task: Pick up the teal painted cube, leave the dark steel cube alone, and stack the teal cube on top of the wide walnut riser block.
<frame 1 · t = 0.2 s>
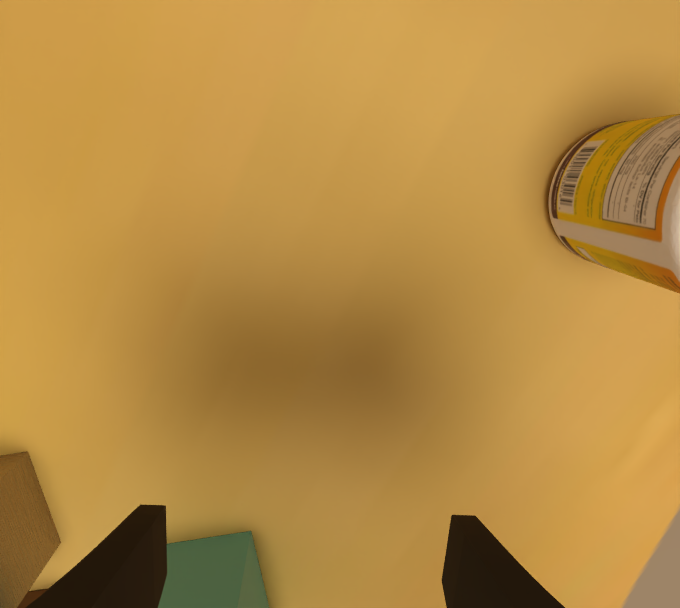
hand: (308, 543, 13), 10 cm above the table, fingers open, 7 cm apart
teal cube: (211, 578, 25), on the table
supplement bottle: (606, 193, 21), on the table
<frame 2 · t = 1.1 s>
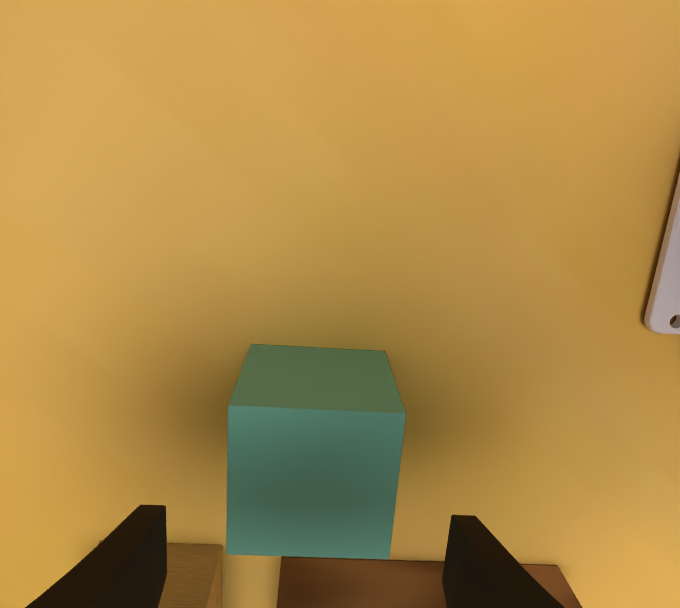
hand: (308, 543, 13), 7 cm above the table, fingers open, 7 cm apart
steel cube: (163, 589, 22), on the table
teal cube: (314, 407, 20), on the table
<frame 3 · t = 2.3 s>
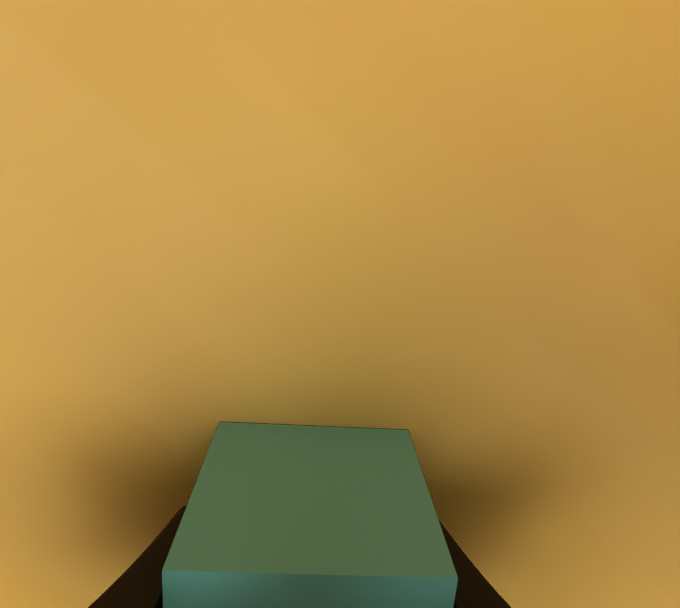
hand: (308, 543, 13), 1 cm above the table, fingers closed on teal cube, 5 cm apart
teal cube: (309, 506, 14), on the table, touching gripper
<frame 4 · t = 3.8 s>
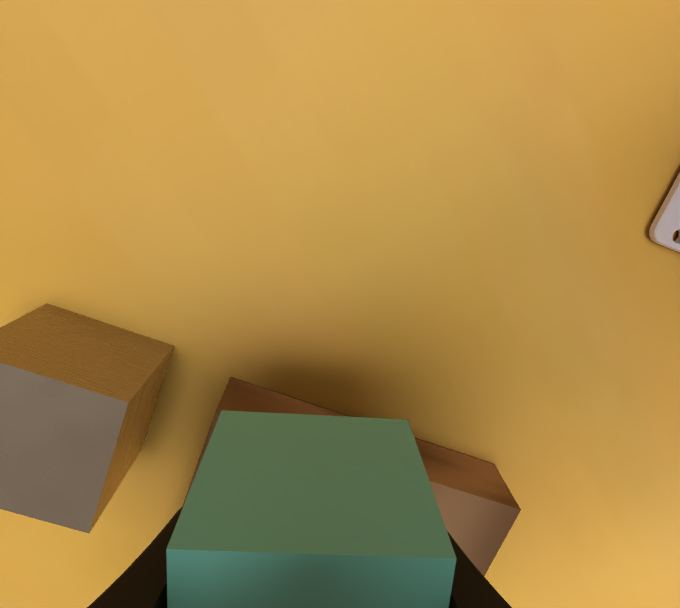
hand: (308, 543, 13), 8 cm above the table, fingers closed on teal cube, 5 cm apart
walnut riser: (317, 535, 23), on the table
steel cube: (96, 379, 20), on the table
teal cube: (310, 495, 14), point 7 cm above the table, touching gripper
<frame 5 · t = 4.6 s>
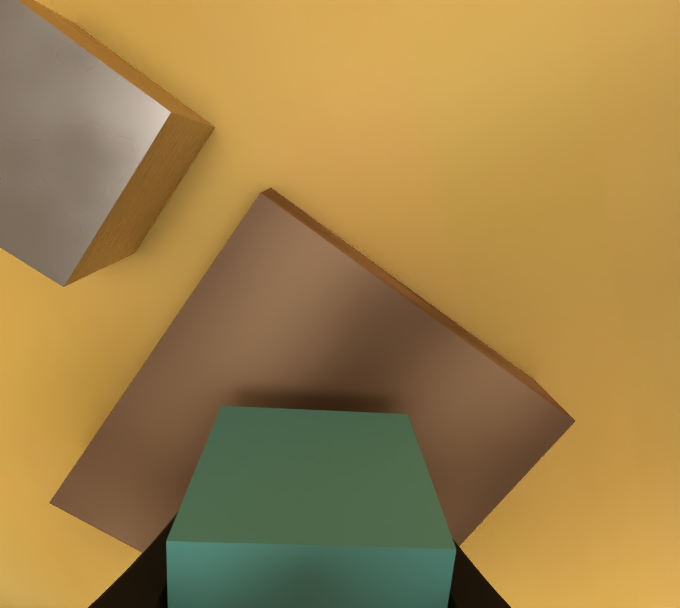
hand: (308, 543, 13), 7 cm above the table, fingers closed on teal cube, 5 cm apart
walnut riser: (313, 416, 19), on the table
steel cube: (106, 144, 16), on the table
teal cube: (310, 490, 14), point 5 cm above the table, touching gripper
when the fingers open (5 cm above the table, at t = 5.3 s): teal cube stays where it is, resting on walnut riser.
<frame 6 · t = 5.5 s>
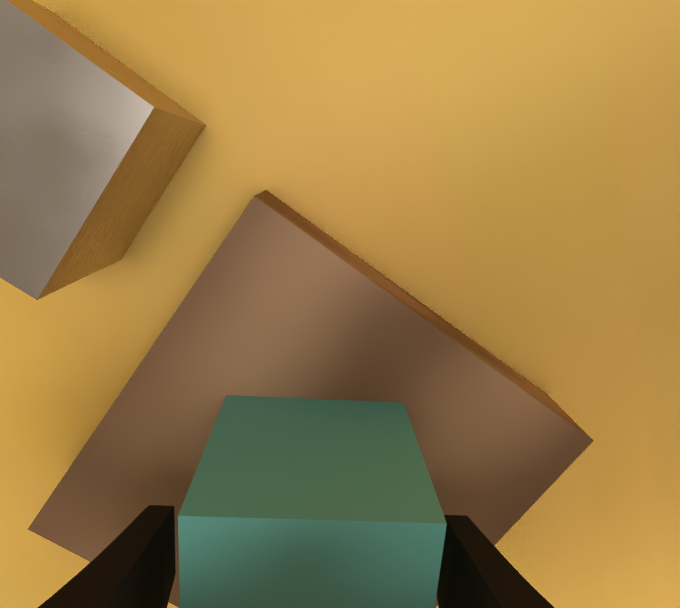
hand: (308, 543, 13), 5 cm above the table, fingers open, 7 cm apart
walnut riser: (311, 432, 18), on the table
steel cube: (89, 143, 15), on the table
teal cube: (311, 476, 15), point 3 cm above the table, touching walnut riser
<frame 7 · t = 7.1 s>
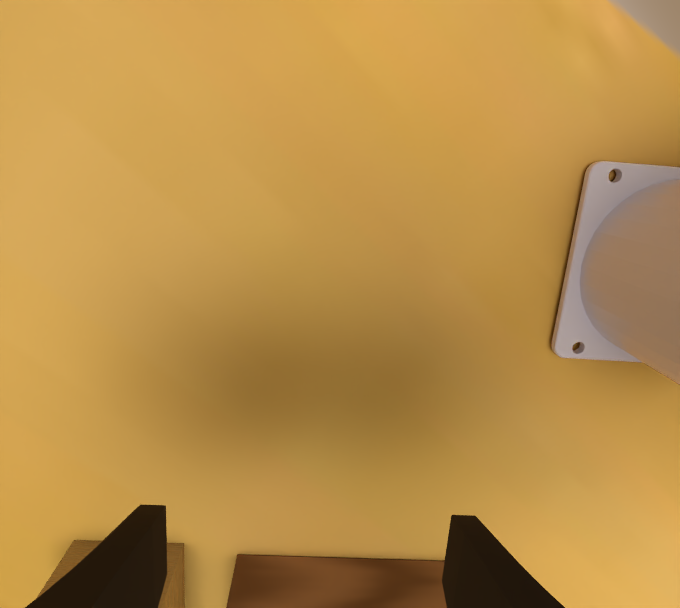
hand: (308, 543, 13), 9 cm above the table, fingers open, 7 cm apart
steel cube: (131, 584, 24), on the table
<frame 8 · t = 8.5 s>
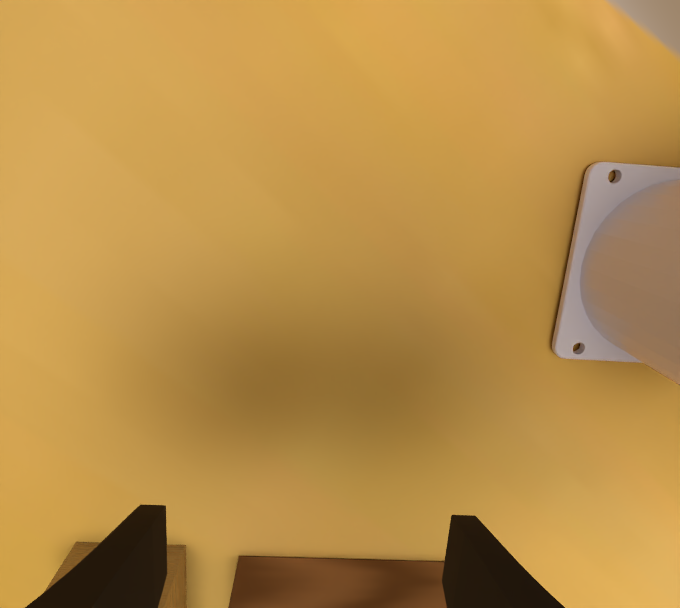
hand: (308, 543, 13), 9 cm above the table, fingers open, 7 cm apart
steel cube: (133, 585, 24), on the table
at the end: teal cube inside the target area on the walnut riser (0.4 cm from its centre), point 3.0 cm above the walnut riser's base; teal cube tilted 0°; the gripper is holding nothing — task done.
